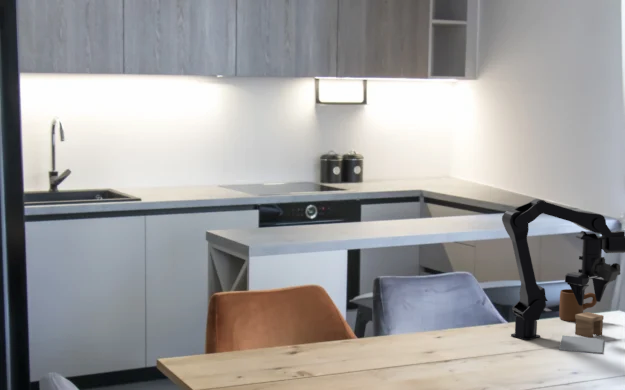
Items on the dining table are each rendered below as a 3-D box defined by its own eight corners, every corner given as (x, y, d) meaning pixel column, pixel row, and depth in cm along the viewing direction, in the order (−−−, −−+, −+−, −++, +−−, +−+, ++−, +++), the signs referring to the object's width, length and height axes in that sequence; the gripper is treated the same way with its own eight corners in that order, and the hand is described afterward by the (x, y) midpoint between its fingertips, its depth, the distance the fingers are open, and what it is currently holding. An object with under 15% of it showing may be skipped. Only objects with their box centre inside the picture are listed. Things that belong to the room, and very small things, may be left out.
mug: (594, 317, 309) (595, 289, 308) (598, 323, 301) (599, 294, 300) (557, 316, 310) (558, 288, 309) (560, 321, 303) (561, 293, 302)
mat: (602, 353, 264) (602, 352, 264) (559, 349, 268) (559, 348, 268) (603, 340, 280) (603, 338, 280) (562, 336, 283) (562, 335, 283)
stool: (591, 338, 282) (592, 318, 281) (574, 334, 286) (575, 314, 286) (602, 335, 286) (603, 315, 285) (586, 331, 290) (587, 311, 290)
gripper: (596, 260, 271) (594, 312, 273) (632, 254, 283) (630, 304, 285) (564, 254, 280) (562, 305, 282) (601, 249, 292) (598, 298, 293)
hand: (589, 303), depth 285 cm, fingers open, 9 cm apart
